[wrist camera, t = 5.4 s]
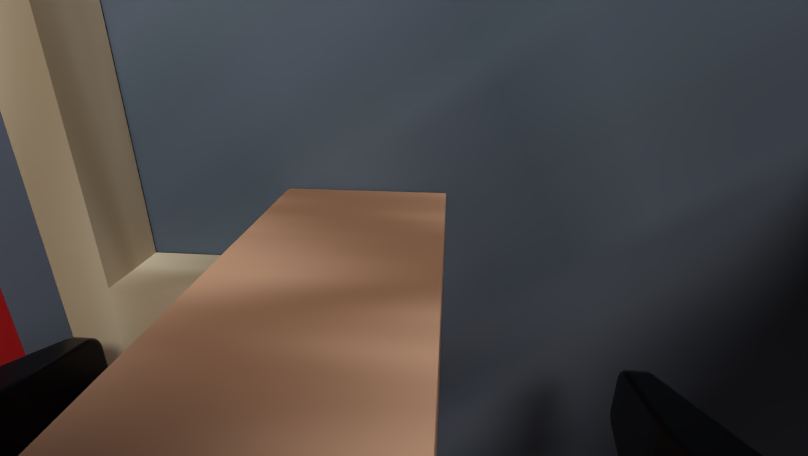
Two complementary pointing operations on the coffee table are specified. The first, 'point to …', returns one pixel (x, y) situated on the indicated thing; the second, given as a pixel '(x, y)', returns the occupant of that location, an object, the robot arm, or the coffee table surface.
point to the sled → (217, 284)
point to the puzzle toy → (8, 336)
